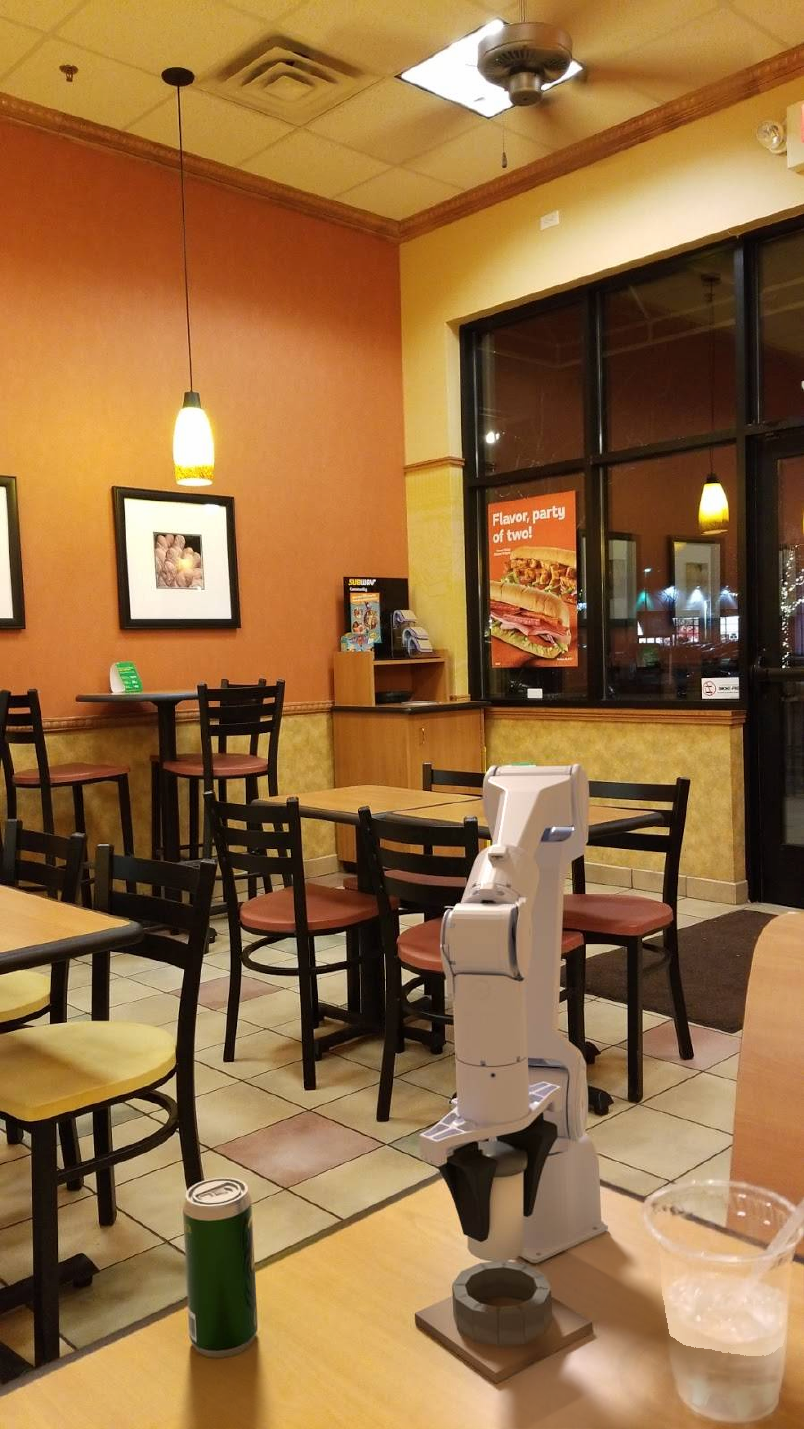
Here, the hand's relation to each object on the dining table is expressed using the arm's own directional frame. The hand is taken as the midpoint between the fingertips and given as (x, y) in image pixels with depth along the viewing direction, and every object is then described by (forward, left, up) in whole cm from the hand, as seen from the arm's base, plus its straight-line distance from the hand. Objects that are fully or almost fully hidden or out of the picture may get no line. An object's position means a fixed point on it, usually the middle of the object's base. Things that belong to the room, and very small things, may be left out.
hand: (498, 1223), depth 88 cm
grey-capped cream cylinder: (0, 0, -2) cm, 2 cm away
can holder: (0, 0, -8) cm, 8 cm away
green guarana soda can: (+18, -13, -9) cm, 24 cm away
